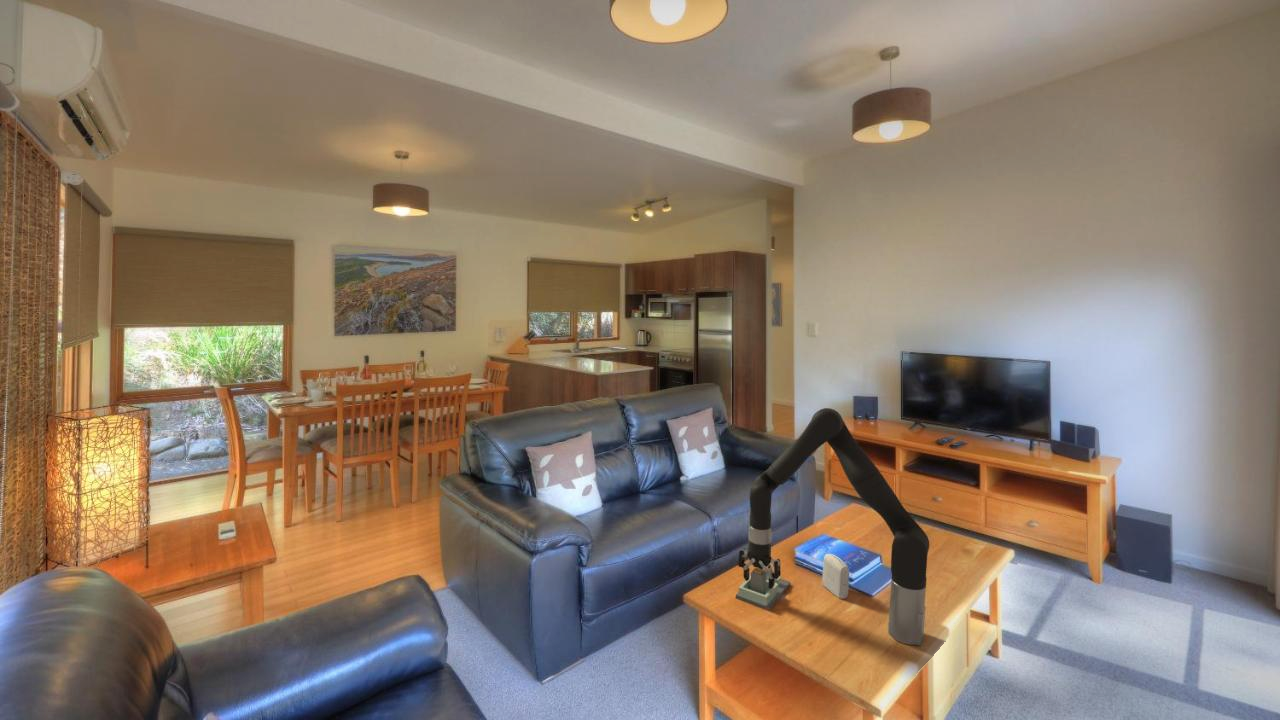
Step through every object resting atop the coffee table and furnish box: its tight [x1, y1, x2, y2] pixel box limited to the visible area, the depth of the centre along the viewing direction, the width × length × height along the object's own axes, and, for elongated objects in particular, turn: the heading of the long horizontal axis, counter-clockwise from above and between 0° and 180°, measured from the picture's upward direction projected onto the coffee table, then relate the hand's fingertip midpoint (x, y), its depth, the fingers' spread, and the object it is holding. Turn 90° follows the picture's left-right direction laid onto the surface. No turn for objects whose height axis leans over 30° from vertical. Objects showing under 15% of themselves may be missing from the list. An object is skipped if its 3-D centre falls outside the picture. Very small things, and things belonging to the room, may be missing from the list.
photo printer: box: [821, 553, 850, 600], centre depth 178 cm, size 10×4×12 cm, turn 17°
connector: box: [750, 567, 767, 595], centre depth 174 cm, size 4×4×9 cm
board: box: [735, 575, 791, 611], centre depth 178 cm, size 12×19×4 cm, turn 144°
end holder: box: [738, 574, 778, 606], centre depth 175 cm, size 10×10×3 cm
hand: (758, 583), depth 174 cm, fingers open, 8 cm apart
